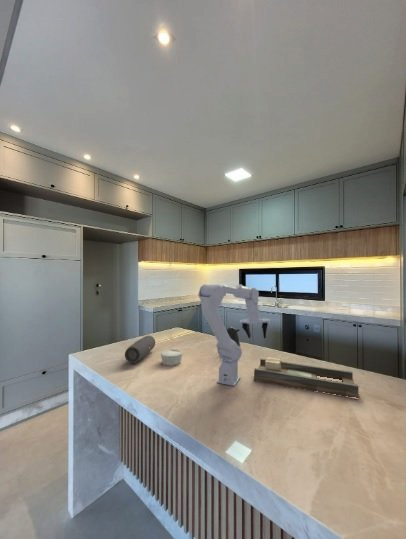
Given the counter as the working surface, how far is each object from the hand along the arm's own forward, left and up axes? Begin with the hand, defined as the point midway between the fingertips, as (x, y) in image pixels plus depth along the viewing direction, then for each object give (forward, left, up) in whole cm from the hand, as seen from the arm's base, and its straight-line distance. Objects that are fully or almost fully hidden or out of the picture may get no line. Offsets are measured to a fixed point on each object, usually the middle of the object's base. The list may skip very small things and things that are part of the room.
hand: (257, 337), depth 119 cm
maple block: (-6, -8, -13) cm, 17 cm away
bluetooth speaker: (-12, +62, -15) cm, 65 cm away
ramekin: (-11, +43, -15) cm, 47 cm away
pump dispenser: (+17, +19, -15) cm, 29 cm away
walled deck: (-6, -21, -15) cm, 27 cm away
